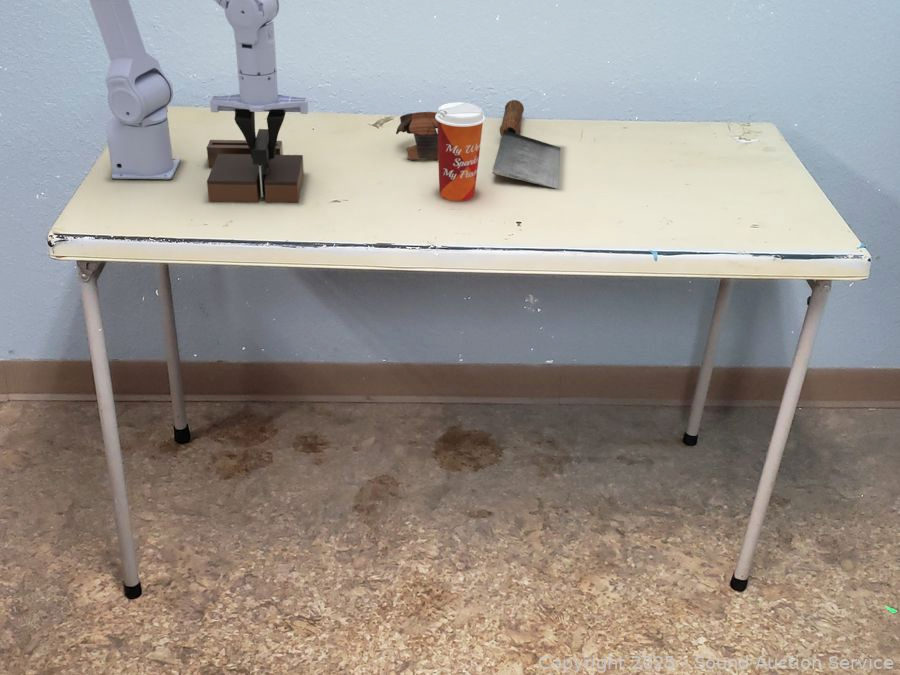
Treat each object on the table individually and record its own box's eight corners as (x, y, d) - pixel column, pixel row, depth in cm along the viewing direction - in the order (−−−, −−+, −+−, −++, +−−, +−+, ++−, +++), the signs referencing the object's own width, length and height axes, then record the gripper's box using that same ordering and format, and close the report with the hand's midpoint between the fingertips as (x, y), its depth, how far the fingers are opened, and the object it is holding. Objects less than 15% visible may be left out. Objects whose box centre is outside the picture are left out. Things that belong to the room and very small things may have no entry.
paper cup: (446, 207, 149) (449, 120, 141) (424, 188, 154) (426, 104, 147) (490, 199, 152) (495, 114, 144) (467, 181, 158) (471, 98, 150)
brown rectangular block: (265, 202, 148) (264, 181, 146) (273, 174, 157) (271, 154, 155) (298, 202, 148) (297, 181, 146) (303, 174, 158) (302, 154, 156)
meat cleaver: (558, 188, 156) (561, 165, 154) (489, 183, 157) (491, 160, 155) (561, 121, 185) (563, 101, 183) (503, 117, 186) (505, 97, 184)
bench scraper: (262, 172, 156) (259, 127, 152) (275, 172, 157) (273, 127, 152) (254, 197, 148) (251, 151, 144) (269, 197, 148) (265, 151, 144)
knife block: (208, 167, 159) (206, 147, 157) (212, 159, 162) (210, 139, 160) (281, 168, 160) (280, 148, 158) (283, 160, 163) (282, 140, 161)
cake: (209, 201, 147) (206, 180, 146) (219, 173, 157) (217, 153, 155) (258, 202, 148) (256, 181, 146) (265, 174, 157) (264, 154, 155)
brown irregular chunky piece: (390, 162, 165) (387, 114, 164) (410, 168, 174) (407, 122, 173) (456, 154, 161) (452, 104, 160) (473, 160, 170) (469, 113, 169)
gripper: (203, 77, 139) (212, 165, 146) (303, 79, 139) (308, 166, 147) (211, 63, 145) (219, 148, 152) (307, 65, 145) (311, 149, 153)
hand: (263, 156), depth 150 cm, fingers closed on bench scraper, 2 cm apart
